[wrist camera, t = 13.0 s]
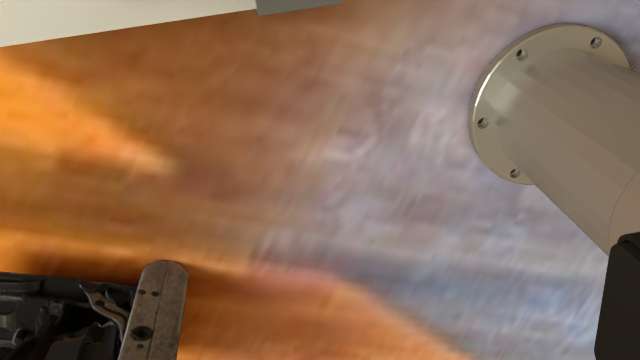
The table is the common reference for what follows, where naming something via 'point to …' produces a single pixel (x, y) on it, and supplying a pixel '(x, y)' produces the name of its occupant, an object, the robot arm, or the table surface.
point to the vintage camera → (94, 313)
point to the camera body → (118, 14)
